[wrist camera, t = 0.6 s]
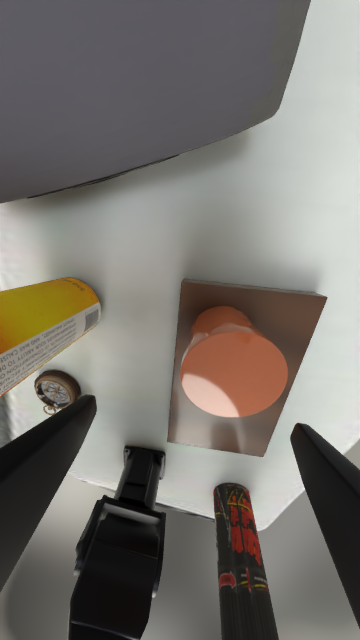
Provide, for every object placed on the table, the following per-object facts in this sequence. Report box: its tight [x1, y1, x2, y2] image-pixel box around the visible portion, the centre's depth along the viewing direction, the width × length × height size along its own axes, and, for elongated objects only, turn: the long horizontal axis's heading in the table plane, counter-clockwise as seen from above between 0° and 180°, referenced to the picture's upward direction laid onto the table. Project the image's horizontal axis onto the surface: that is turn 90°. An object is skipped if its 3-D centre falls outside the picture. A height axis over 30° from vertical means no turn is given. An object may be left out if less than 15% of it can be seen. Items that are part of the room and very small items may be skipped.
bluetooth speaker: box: [0, 0, 311, 203], centre depth 10 cm, size 23×9×10 cm, turn 101°
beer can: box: [0, 278, 101, 397], centre depth 14 cm, size 6×6×15 cm
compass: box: [34, 371, 80, 415], centre depth 23 cm, size 8×8×7 cm
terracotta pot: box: [180, 306, 288, 417], centre depth 15 cm, size 7×7×6 cm
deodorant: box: [213, 483, 279, 640], centre depth 24 cm, size 6×6×15 cm
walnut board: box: [167, 279, 327, 457], centre depth 21 cm, size 22×13×2 cm, turn 175°
